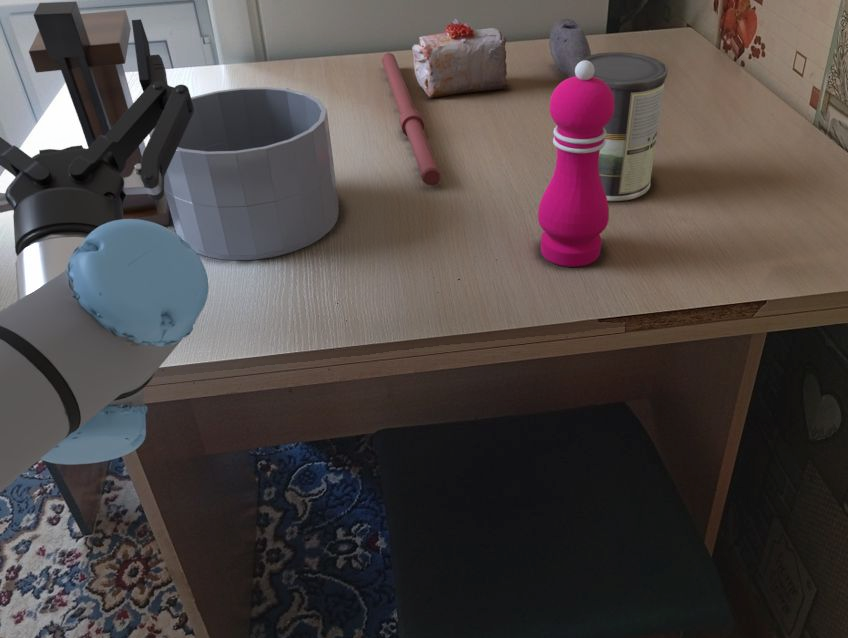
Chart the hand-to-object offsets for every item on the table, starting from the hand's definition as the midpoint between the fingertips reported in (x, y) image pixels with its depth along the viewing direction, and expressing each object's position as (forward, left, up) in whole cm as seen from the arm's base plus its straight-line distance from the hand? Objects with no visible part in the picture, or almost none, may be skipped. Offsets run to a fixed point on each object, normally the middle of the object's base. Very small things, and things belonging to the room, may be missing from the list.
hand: (55, 39), depth 66 cm
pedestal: (-3, +13, -24) cm, 27 cm away
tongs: (-2, +8, -7) cm, 11 cm away
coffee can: (+52, +18, -24) cm, 60 cm away
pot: (+11, +12, -24) cm, 29 cm away
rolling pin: (+27, +40, -24) cm, 54 cm away
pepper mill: (+45, +2, -24) cm, 51 cm away
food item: (+35, +52, -24) cm, 68 cm away
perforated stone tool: (+53, +57, -24) cm, 82 cm away
